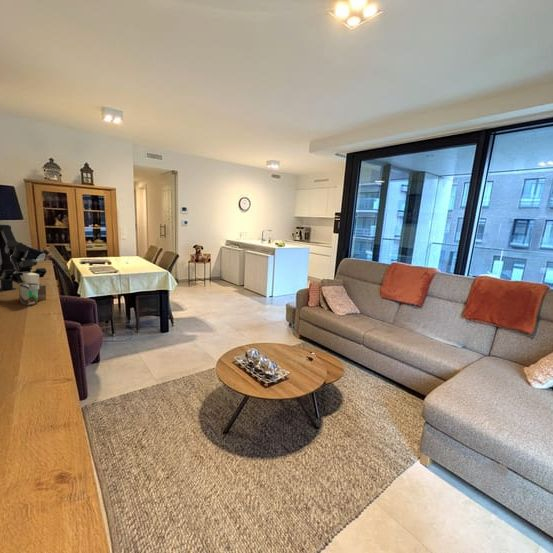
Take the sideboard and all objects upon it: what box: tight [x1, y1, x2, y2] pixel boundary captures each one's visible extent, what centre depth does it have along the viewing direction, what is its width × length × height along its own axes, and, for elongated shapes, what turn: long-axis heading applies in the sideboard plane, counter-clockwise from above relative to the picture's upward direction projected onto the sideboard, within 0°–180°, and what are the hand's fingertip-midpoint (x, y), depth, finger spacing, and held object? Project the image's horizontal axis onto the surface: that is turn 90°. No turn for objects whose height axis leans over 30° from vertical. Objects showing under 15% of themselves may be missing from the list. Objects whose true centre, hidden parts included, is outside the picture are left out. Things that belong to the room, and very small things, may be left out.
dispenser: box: [18, 283, 47, 302], centre depth 159 cm, size 5×10×8 cm, turn 152°
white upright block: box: [22, 273, 40, 285], centre depth 161 cm, size 8×4×14 cm, turn 62°
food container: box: [18, 283, 40, 307], centre depth 154 cm, size 12×6×10 cm, turn 58°
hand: (30, 286), depth 162 cm, fingers open, 6 cm apart
